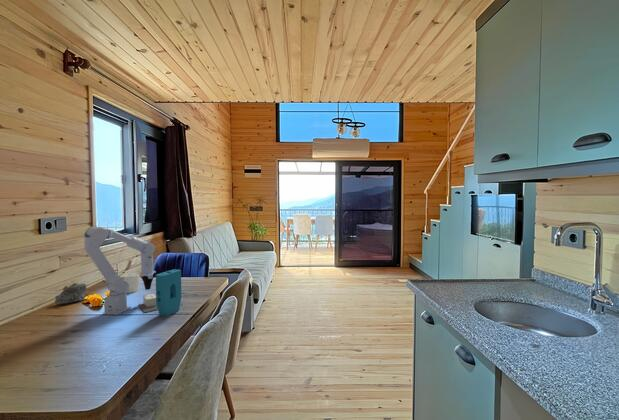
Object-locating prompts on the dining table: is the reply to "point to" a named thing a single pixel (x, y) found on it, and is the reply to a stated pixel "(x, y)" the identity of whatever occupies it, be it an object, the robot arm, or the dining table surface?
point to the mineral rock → (72, 294)
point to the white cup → (132, 282)
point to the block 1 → (149, 300)
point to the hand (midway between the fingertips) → (147, 289)
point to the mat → (147, 308)
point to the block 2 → (168, 292)
